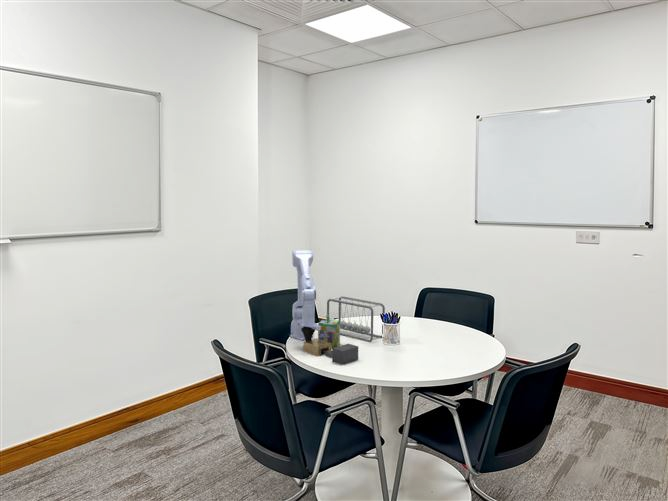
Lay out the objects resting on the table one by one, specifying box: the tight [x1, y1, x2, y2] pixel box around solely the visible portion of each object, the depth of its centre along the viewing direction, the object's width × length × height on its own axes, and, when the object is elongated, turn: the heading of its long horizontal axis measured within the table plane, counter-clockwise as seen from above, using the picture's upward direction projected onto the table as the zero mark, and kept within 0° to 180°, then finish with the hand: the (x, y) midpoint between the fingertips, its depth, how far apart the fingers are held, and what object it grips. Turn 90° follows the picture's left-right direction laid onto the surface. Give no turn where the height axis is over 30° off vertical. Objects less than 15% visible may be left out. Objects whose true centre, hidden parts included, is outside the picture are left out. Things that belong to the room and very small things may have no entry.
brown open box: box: [302, 338, 332, 357], centre depth 233 cm, size 10×8×4 cm
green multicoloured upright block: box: [317, 313, 341, 349], centre depth 243 cm, size 9×9×15 cm
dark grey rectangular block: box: [324, 343, 359, 366], centre depth 223 cm, size 14×10×6 cm
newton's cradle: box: [326, 295, 386, 343], centre depth 261 cm, size 30×10×18 cm, turn 49°
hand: (308, 342), depth 237 cm, fingers closed
